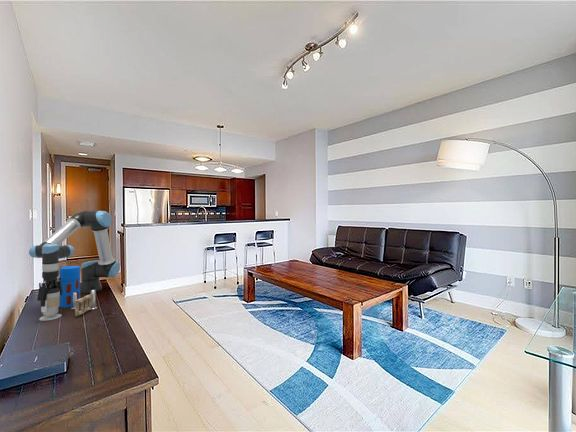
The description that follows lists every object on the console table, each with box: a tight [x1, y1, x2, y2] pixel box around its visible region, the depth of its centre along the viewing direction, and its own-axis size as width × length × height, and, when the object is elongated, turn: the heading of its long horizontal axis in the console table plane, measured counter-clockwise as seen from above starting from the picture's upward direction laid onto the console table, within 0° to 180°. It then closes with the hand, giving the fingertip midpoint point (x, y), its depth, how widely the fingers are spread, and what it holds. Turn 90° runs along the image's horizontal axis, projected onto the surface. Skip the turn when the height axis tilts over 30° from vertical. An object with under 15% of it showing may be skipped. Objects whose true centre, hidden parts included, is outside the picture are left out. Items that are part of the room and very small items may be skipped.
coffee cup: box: [42, 286, 60, 316], centre depth 168 cm, size 9×9×15 cm
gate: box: [74, 293, 93, 317], centre depth 175 cm, size 14×1×9 cm, turn 3°
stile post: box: [70, 292, 77, 310], centre depth 184 cm, size 4×4×10 cm
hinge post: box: [90, 290, 98, 311], centre depth 183 cm, size 4×4×12 cm
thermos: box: [58, 265, 81, 308], centre depth 190 cm, size 11×11×25 cm
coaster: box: [39, 313, 62, 322], centre depth 168 cm, size 10×10×1 cm
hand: (50, 309), depth 168 cm, fingers closed on coffee cup, 8 cm apart
